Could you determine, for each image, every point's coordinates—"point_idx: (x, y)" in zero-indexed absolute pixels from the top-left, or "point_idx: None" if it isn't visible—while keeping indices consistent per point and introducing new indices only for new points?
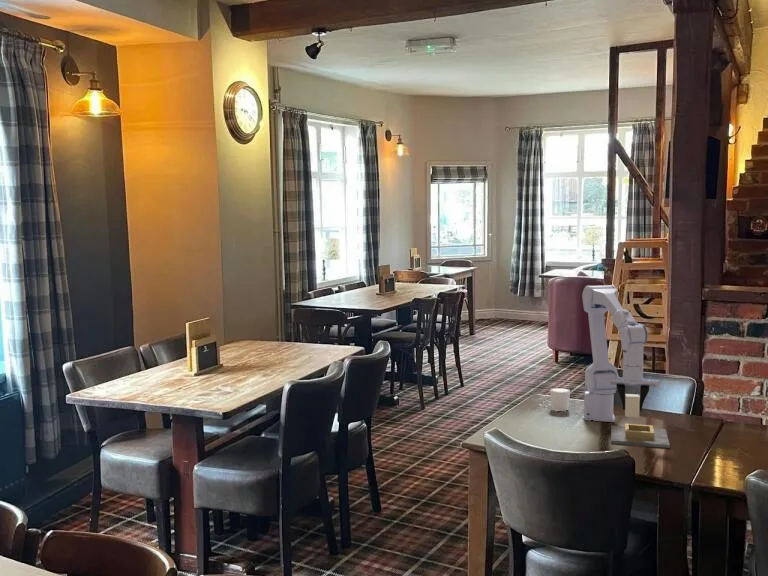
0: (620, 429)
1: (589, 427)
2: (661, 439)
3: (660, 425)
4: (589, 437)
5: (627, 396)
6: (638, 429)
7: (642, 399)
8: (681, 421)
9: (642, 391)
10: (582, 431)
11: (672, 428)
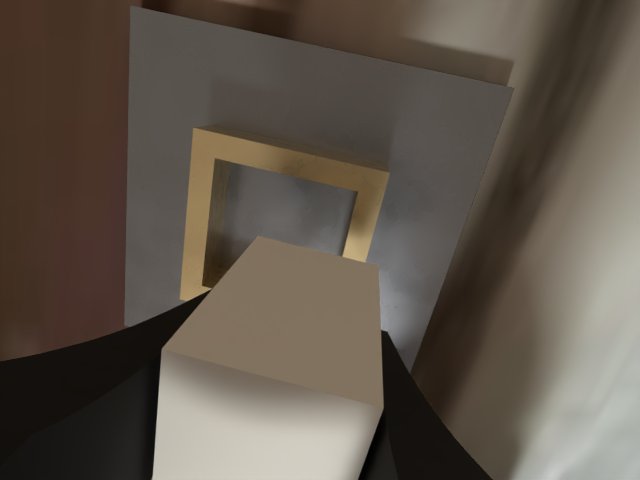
0: None
1: (517, 407)
2: (167, 131)
3: None
4: (602, 227)
5: (343, 425)
6: None
7: (137, 338)
8: None
9: (24, 408)
10: (594, 343)
11: None
